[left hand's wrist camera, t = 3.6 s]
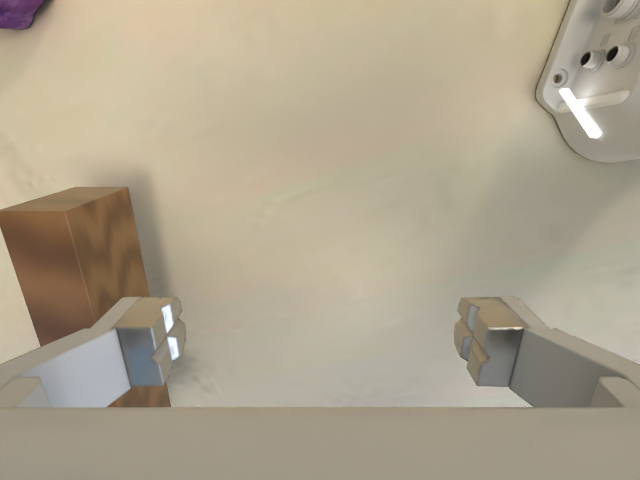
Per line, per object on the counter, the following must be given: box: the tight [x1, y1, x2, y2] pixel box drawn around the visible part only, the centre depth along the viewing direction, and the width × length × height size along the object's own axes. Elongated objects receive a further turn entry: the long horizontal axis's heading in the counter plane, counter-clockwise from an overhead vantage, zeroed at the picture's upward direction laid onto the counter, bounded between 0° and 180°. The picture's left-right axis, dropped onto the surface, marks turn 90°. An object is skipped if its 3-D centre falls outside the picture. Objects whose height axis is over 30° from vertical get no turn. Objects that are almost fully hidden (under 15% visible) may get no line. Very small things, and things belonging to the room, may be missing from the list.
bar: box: [0, 187, 171, 407], centre depth 33 cm, size 28×5×8 cm, turn 0°
